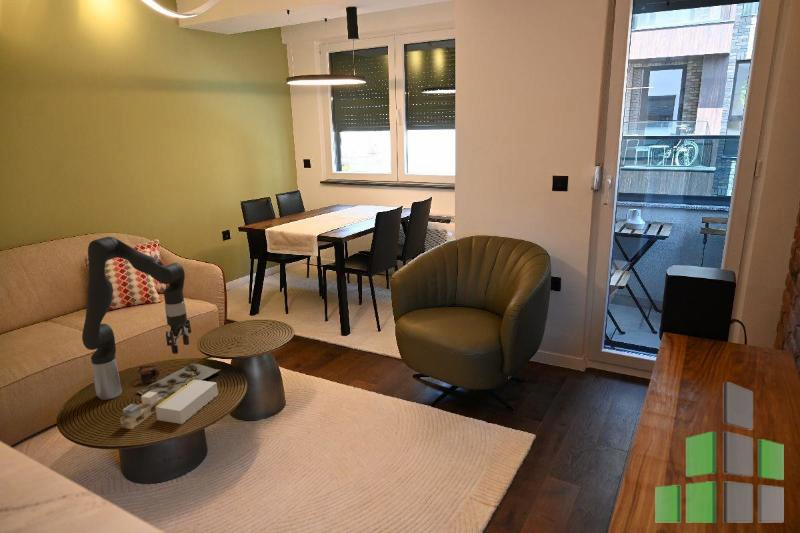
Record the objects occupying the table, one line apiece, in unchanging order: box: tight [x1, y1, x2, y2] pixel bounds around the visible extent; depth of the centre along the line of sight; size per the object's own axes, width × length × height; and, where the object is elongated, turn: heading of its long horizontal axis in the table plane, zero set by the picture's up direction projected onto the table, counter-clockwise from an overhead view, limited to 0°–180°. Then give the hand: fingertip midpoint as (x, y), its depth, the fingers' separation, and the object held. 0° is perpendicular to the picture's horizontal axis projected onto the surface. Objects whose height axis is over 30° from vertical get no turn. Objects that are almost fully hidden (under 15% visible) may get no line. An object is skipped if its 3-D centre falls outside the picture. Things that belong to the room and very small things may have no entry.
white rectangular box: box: [155, 379, 219, 425], centre depth 215 cm, size 12×24×6 cm, turn 164°
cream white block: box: [141, 390, 158, 404], centre depth 212 cm, size 4×4×3 cm
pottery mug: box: [137, 364, 160, 384], centre depth 240 cm, size 12×10×8 cm
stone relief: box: [135, 362, 222, 401], centre depth 236 cm, size 32×3×20 cm
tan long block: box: [119, 396, 164, 430], centre depth 209 cm, size 5×18×4 cm, turn 165°
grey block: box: [122, 403, 141, 418], centre depth 203 cm, size 4×4×3 cm
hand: (181, 348), depth 208 cm, fingers open, 8 cm apart
